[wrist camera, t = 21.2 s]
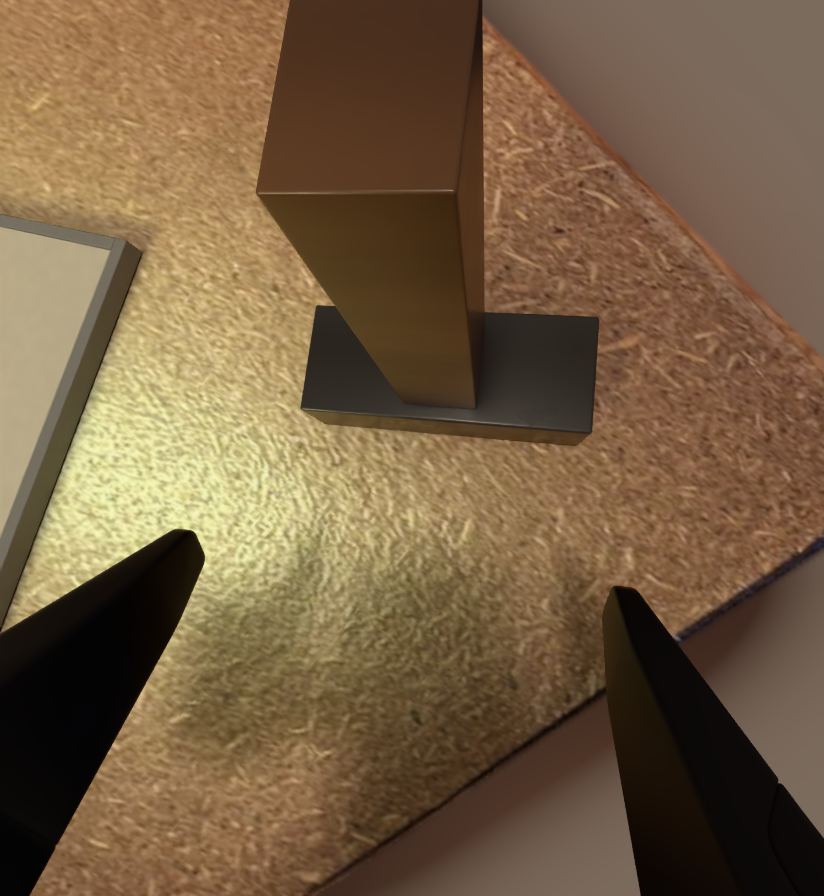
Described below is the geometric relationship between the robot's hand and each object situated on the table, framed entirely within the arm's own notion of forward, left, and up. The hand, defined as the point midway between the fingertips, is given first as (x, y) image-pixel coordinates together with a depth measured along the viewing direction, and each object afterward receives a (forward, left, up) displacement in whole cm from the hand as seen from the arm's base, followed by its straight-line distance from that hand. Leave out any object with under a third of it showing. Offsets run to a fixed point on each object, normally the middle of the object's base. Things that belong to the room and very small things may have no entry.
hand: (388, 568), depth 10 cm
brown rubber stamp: (+6, +1, -8) cm, 10 cm away
